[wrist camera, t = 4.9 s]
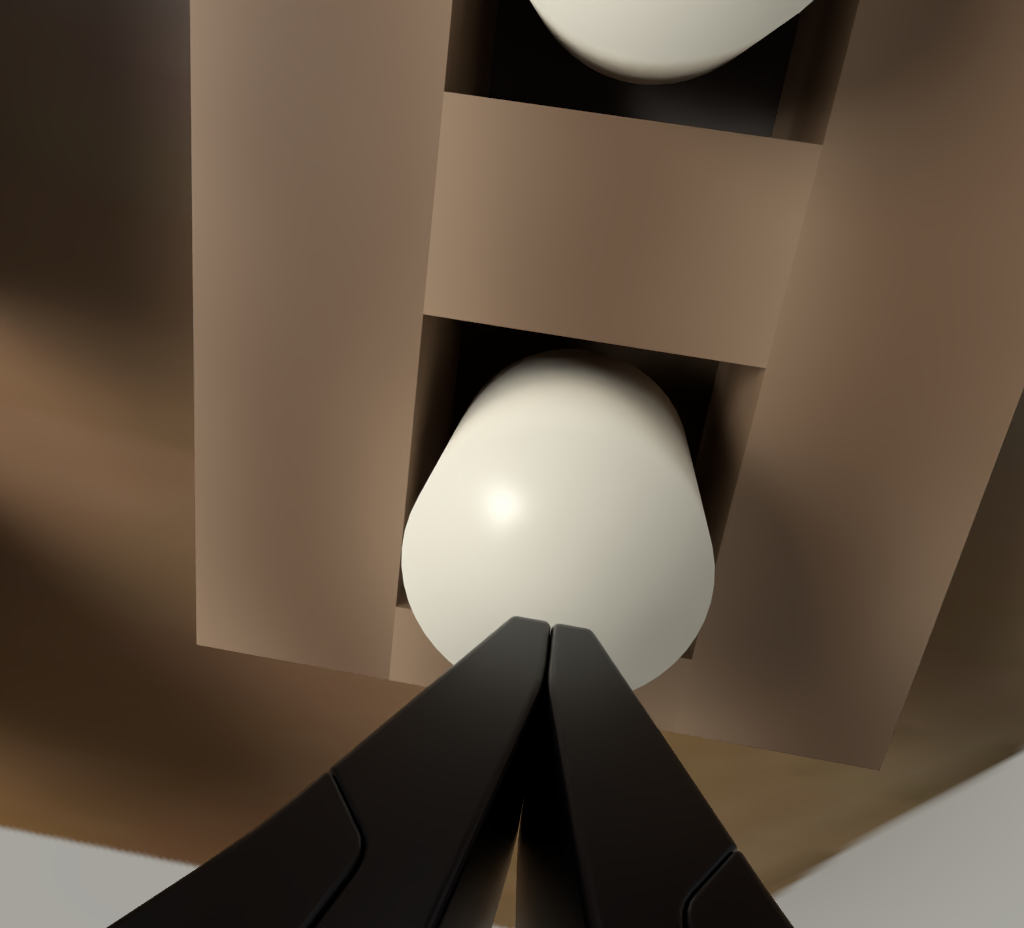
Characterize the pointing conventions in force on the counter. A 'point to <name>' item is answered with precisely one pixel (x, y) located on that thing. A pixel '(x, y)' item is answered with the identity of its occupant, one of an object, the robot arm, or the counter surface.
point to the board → (610, 329)
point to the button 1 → (564, 516)
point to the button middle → (661, 33)
